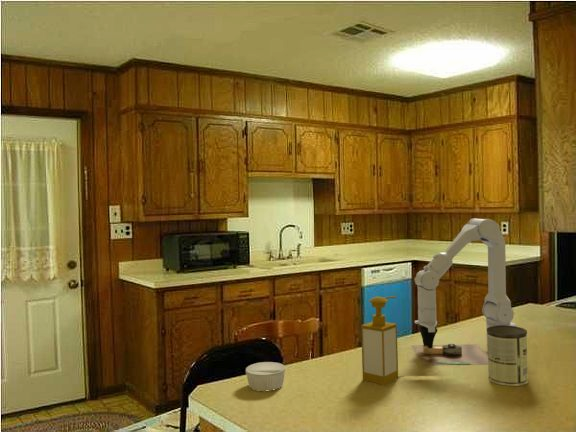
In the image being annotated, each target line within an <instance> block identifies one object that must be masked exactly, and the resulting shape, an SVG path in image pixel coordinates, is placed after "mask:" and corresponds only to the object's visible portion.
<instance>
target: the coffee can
mask: <svg viewBox="0 0 576 432" xmlns="http://www.w3.org/2000/svg"><path fill="white" fill-rule="evenodd" d="M527 335H528V330H527V329H526V328H523V327H520V326H517V327H515V326H492V327H489V328H487V327H486V341H487V340H488V347H487V354H488V365H487V366H488V368H487V369H488V381H489V382H491V383H493V384H496V385H498V386H504V387H505V386H506V387H520V386H521V387H522V386H524V385H527V384H528V383H529V379H528V343H527V339H528V338H527Z"/></svg>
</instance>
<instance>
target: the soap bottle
mask: <svg viewBox="0 0 576 432" xmlns="http://www.w3.org/2000/svg"><path fill="white" fill-rule="evenodd" d="M388 299H397V297H396V296H385V297H383V296H374V297H372V298H370V299H369V300H368V302H369V303H370V304H371V308H375V313H374V314H372V321H370V322H367V323H365V324H364V323H363V324H361V325H360V326H361V328H360V329H361V330H360V331H361V365H362V369H361V370H362V381H365V380H366V382H369V381H370V382H371V383H373V382H374V383H373V384H377V385H382V386H385V385H388V384H390V383H391V382H394V381H396V380H398V379H399V359H398V357H399V355H398V326H397V323H393V322H388V321H386V314H382V312H383V311H382V308H386V303H387V304H388V302H389V300H388Z"/></svg>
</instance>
